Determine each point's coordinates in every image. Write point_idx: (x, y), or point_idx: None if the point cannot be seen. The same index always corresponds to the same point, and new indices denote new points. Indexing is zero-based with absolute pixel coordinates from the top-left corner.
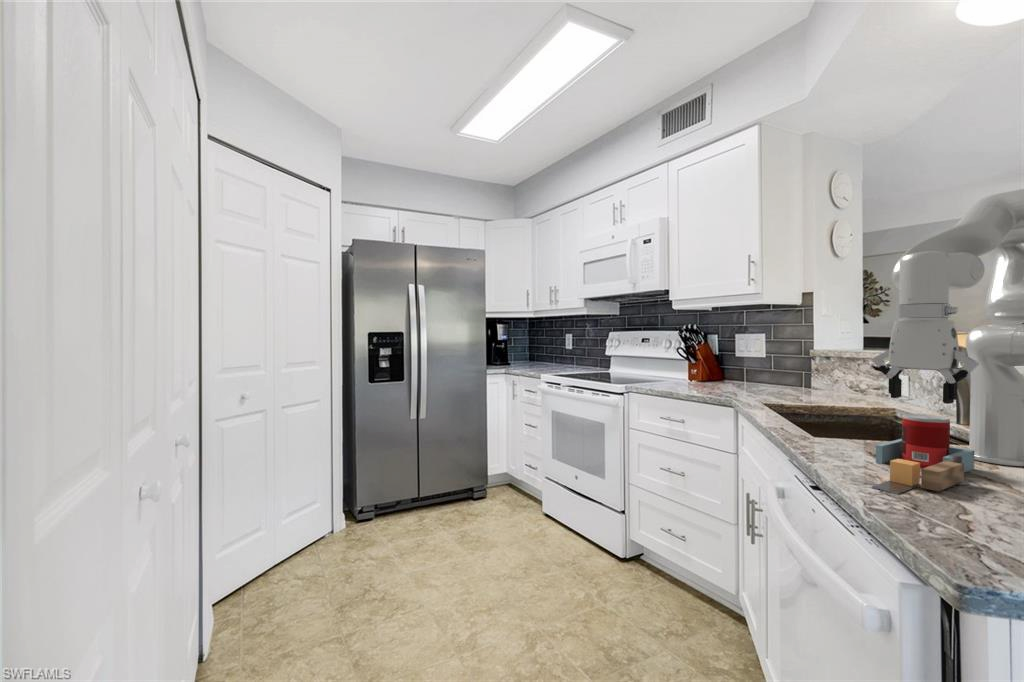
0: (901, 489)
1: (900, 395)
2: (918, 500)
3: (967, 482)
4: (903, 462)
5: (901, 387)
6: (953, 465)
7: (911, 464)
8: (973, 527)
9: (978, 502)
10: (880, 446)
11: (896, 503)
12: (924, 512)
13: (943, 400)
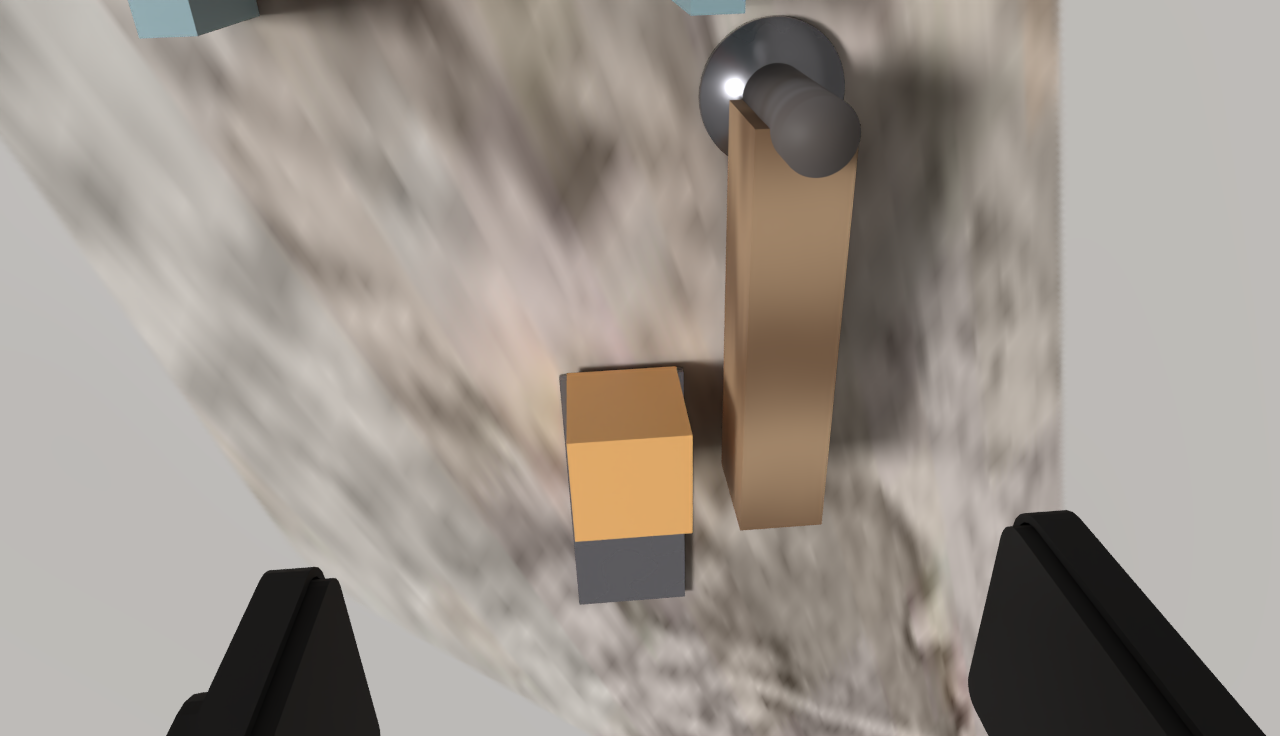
0: (672, 541)
1: (337, 617)
2: (764, 590)
3: (832, 68)
4: (634, 511)
5: (279, 720)
6: (829, 277)
7: (681, 518)
8: (964, 691)
9: (935, 406)
10: (183, 33)
11: (729, 683)
12: (825, 689)
13: (988, 721)
